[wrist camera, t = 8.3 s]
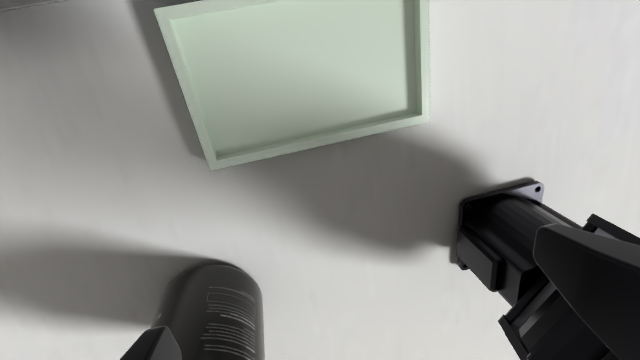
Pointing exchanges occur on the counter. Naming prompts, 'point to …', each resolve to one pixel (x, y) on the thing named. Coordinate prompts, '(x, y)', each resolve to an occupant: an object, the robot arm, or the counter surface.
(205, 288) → the supplement bottle
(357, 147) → the counter surface
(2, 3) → the strip
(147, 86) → the counter surface
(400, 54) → the tray
